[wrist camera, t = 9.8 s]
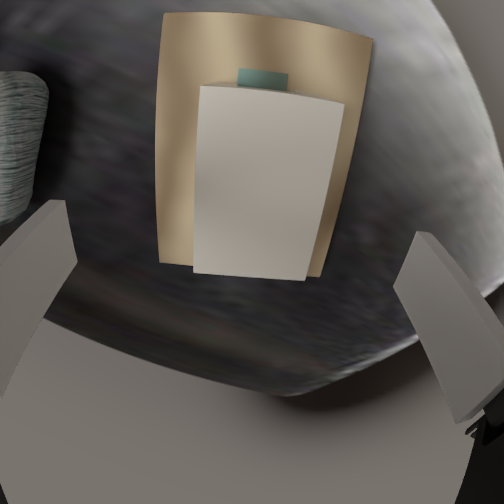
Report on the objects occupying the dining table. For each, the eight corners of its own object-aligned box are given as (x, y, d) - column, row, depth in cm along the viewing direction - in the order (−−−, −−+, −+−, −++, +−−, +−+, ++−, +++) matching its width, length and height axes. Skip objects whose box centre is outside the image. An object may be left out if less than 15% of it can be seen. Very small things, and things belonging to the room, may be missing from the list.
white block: (206, 216, 23) (193, 272, 17) (215, 82, 17) (200, 85, 11) (289, 223, 23) (304, 280, 17) (312, 93, 18) (344, 104, 12)
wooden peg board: (163, 252, 27) (147, 292, 22) (169, 16, 16) (144, 1, 11) (316, 266, 27) (328, 308, 23) (365, 40, 16) (398, 33, 12)
